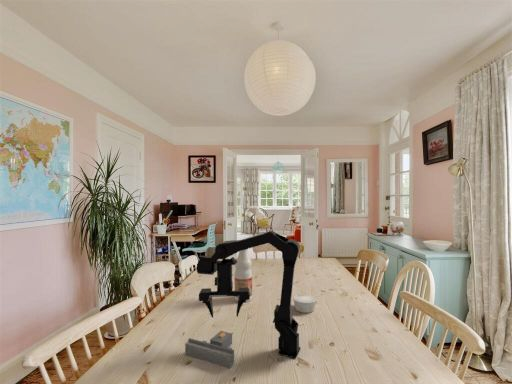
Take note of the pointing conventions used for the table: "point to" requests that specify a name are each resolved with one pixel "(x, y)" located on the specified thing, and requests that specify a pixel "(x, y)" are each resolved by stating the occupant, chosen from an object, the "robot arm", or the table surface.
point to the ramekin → (304, 303)
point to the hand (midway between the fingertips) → (224, 316)
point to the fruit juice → (243, 273)
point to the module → (222, 339)
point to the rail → (210, 352)
